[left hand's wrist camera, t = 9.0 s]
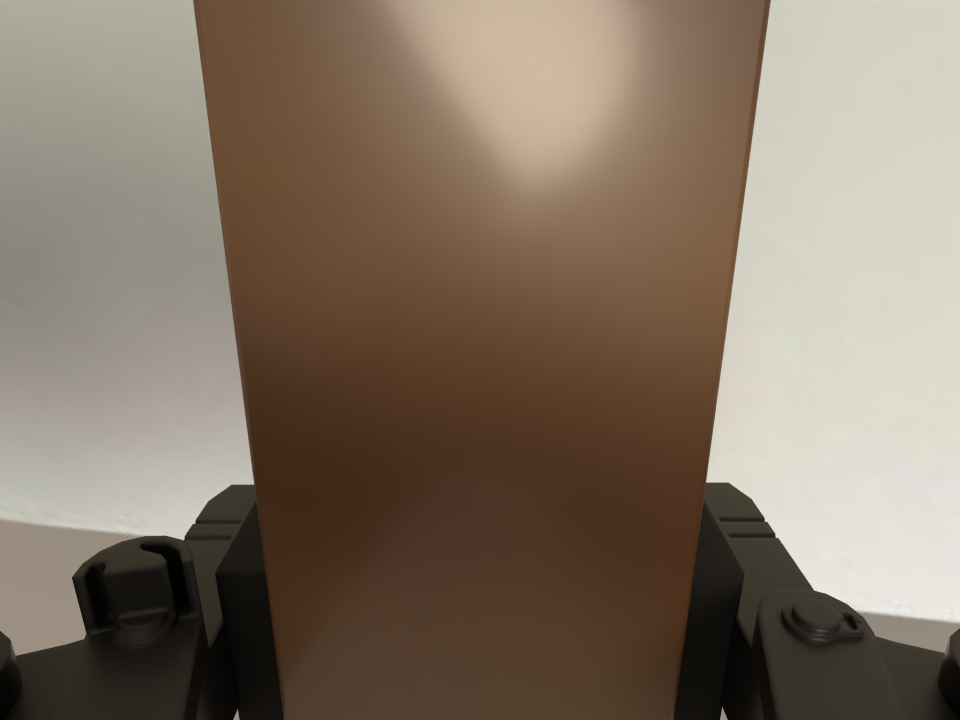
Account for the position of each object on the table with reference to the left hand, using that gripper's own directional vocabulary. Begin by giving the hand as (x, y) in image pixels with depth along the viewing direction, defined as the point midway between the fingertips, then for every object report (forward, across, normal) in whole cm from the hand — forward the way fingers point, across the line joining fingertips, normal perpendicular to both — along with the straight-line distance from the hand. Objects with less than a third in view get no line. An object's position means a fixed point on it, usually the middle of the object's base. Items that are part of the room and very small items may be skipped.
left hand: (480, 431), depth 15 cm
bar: (+1, 0, -28) cm, 28 cm away
